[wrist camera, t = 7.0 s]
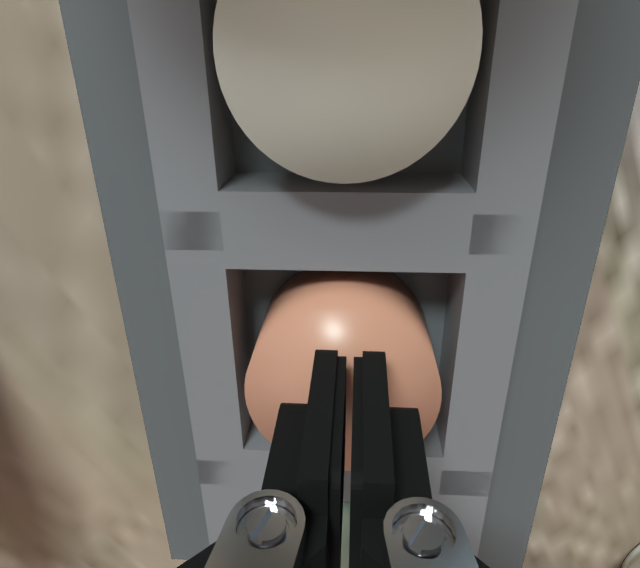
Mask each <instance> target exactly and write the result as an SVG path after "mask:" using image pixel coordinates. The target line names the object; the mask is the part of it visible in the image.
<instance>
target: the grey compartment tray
mask: <svg viewBox="0 0 640 568" xmlns="http://www.w3.org/2000/svg"><path fill="white" fill-rule="evenodd" d="M479 1H480V6H481V13H482V28H483V34H482V51H481V57H480V62H479V68H478V72H477V75H476V79H475V82H474V85H473V88H472V91H471V93H470V95H469V98H468V100H467V102H466V105H465V106H464V108H463V110H462V112H461V113H460V115H459V117H458V118H457V120H456V122H455V123H454V124H453V126H452V127H451V128H450V130H449V131H448V132H447V134H446V135H445V136H444V137H443V138H442V139H441V140H440V141H439V142H438V143H437V145H436V146H435V147H434V148H433V149H431V150H430V151H429V152H428V153H427V154H425V155H424V156H423V157H422V158H420V159H419V160H417V161H416V162H414V163H413V164H411V165H410V166H408V167H406V168H405V169H402V170H400V171H398V172H396V173H394V174H392V175H389V176H386V177H383V178H380V179H377V180H373V181H367V182H362V183H350V184H339V183H327V182H322V181H317V180H312V179H310V178H307V177H304V176H301V175H298V174H296V173H294V172H292V171H290V170H288V169H286V168H284V167H282V166H281V165H279V164H277V163H276V162H274V161H273V160H271V159H270V158H269V157H268V156H266V155H265V154H264V153H263V152H262V151H261V150H259V149H258V148H257V147H256V146H255V145H254V143H253V142H252V141H251V140H250V139H249V138H248V137H247V136H246V135H245V133H244V132H243V130H242V129H241V128H240V126H239V125H238V123H237V122H236V120H235V118H234V117H233V115H232V113H231V111H230V109H229V107H228V105H227V103H226V100H225V98H224V96H223V93H222V91H221V87H220V84H219V80H218V76H217V73H216V67H215V60H214V54H213V25H214V14H215V9H216V4H217V0H59V4H60V9H61V14H62V19H63V24H64V29H65V34H66V39H67V44H68V49H69V54H70V59H71V64H72V69H73V73H74V78H75V83H76V88H77V93H78V98H79V103H80V108H81V113H82V118H83V123H84V128H85V133H86V138H87V143H88V148H89V152H90V157H91V162H92V167H93V172H94V177H95V182H96V187H97V192H98V197H99V202H100V207H101V212H102V217H103V222H104V227H105V232H106V236H107V241H108V246H109V251H110V256H111V261H112V266H113V271H114V276H115V281H116V286H117V291H118V296H119V301H120V306H121V311H122V316H123V320H124V325H125V330H126V335H127V340H128V345H129V350H130V355H131V360H132V365H133V370H134V375H135V380H136V385H137V390H138V395H139V399H140V404H141V409H142V414H143V419H144V424H145V429H146V434H147V439H148V444H149V449H150V454H151V459H152V464H153V469H154V474H155V479H156V483H157V488H158V493H159V498H160V503H161V508H162V513H163V518H164V523H165V528H166V533H167V538H168V543H169V548H170V553H171V558H172V559H184V560H189V559H190V558H192V557H193V556H195V555H196V554H198V553H199V552H201V551H202V550H204V549H205V548H207V547H208V546H210V545H211V544H213V543H214V542H216V541H217V539H218V537H219V534H220V532H221V530H222V528H223V526H224V523H225V521H226V519H227V517H228V515H229V513H230V511H231V510H232V508H233V507H234V505H235V504H236V503H237V502H238V501H240V500H241V499H242V498H243V497H245V496H247V495H249V494H251V493H253V492H255V491H260V490H261V488H262V484H263V479H264V475H265V470H266V466H267V461H268V456H269V452H270V447H271V443H270V442H269V441H268V440H267V439H266V438H265V437H264V436H263V435H262V434H261V433H260V431H259V430H258V428H257V427H256V425H255V424H254V422H253V420H252V418H251V416H250V414H249V411H248V408H247V405H246V400H245V387H244V384H245V377H246V372H247V369H248V366H249V363H250V360H251V357H252V354H253V351H254V348H255V345H256V342H257V339H258V336H259V333H260V330H261V327H262V324H263V321H264V318H265V315H266V312H267V309H268V306H269V304H270V302H271V300H272V298H273V297H274V295H275V294H276V293H277V291H278V290H279V289H280V288H281V287H282V286H283V285H284V283H286V282H287V281H288V280H289V279H290V278H292V277H293V276H295V275H296V274H298V273H300V272H301V271H303V270H310V271H368V272H389V273H391V274H392V275H394V276H395V277H397V278H398V279H399V280H401V281H402V282H403V283H404V284H405V285H406V286H407V287H408V288H409V289H410V290H411V291H412V292H413V294H414V295H415V297H416V298H417V300H418V301H419V303H420V305H421V307H422V310H423V312H424V316H425V319H426V323H427V327H428V331H429V335H430V339H431V343H432V348H433V352H434V356H435V360H436V364H437V368H438V372H439V376H440V381H441V388H442V399H441V406H440V411H439V414H438V416H437V419H436V422H435V423H434V425H433V427H432V429H431V430H430V432H429V433H428V434H427V436H426V437H425V438H424V439H423V441H424V447H425V454H426V461H427V467H428V474H429V480H430V487H431V494H432V499H433V500H436V501H439V502H440V503H442V504H444V505H445V506H447V507H449V508H450V509H451V510H452V511H453V512H454V513H455V514H456V515H457V516H458V518H459V520H460V521H461V523H462V525H463V527H464V529H465V532H466V535H467V537H468V540H469V543H470V545H471V548H472V551H473V553H474V555H475V556H476V557H477V558H479V559H480V560H481V561H482V562H484V563H485V564H486V565H487V566H489V567H490V568H522V565H523V561H524V557H525V553H526V549H527V544H528V540H529V536H530V532H531V528H532V524H533V520H534V515H535V511H536V507H537V503H538V499H539V495H540V491H541V486H542V482H543V478H544V474H545V470H546V466H547V462H548V457H549V453H550V449H551V445H552V441H553V437H554V433H555V429H556V424H557V420H558V416H559V412H560V408H561V404H562V400H563V395H564V391H565V387H566V383H567V379H568V375H569V371H570V366H571V362H572V358H573V354H574V350H575V346H576V342H577V337H578V333H579V329H580V325H581V321H582V317H583V313H584V309H585V304H586V300H587V296H588V292H589V288H590V284H591V280H592V275H593V271H594V267H595V263H596V259H597V255H598V251H599V246H600V242H601V238H602V234H603V230H604V226H605V222H606V217H607V213H608V209H609V205H610V201H611V197H612V193H613V188H614V184H615V180H616V176H617V172H618V168H619V164H620V160H621V155H622V151H623V147H624V143H625V139H626V135H627V131H628V126H629V122H630V118H631V114H632V110H633V106H634V102H635V97H636V93H637V89H638V85H639V81H640V0H479ZM350 489H351V471H344V494H343V502H350Z"/></svg>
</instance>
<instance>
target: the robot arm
mask: <svg viewBox="0 0 640 568" xmlns="http://www.w3.org/2000/svg"><path fill="white" fill-rule="evenodd" d="M346 362H347V357H346V356H338V350H318V349H316V350H315V355H314V362H313V369H312V376H311V383H310V389H309V396H308V403H307V404H302V403H281V404H280V407H279V411H278V416H277V420H276V425H275V429H274V434H273V438H272V443H271V447H270V452H269V456H268V461H267V466H266V470H265V475H264V479H263V484H262V488H261V490H260V491H255V492H253V493H251V494H249V495H247V496H245V497H243V498H242V499H241V500H240V501H238V502H237V503H236V504H235V505H234V507H233V508H232V510H231V511H230V513H229V515H228V517H227V519H226V521H225V523H224V526H223V528H222V530H221V532H220V534H219V537H218V539H217V541H216V542H214V543H213V544H211V545H210V546H208V547H207V548H205V549H204V550H202V551H201V552H199V553H198V554H196V555H195V556H193V557H192V558H190V559H189V560H187V561H186V562H184V563H183V564H181V565H180V566H179V567H177V568H341V544H342V519H343V494H344V468H345V433H346ZM349 568H490V567H489V566H487V565H486V564H485V563H484V562H482V561H481V560H480V559H479V558H477V557H476V556H475V555H474V553H473V551H472V548H471V545H470V543H469V540H468V537H467V535H466V532H465V529H464V527H463V525H462V523H461V521H460V520H459V518H458V516H457V515H456V514H455V513H454V512H453V511H452V510H451V509H450V508H449V507H447V506H445V505H444V504H442V503H440V502H439V501H436V500H433V499H432V494H431V487H430V480H429V474H428V467H427V461H426V454H425V447H424V441H423V434H422V428H421V421H420V414H419V410H418V408H404V407H389V394H388V380H387V367H386V354H385V352H381V351H363V355H362V357H354V367H353V407H352V447H351V489H350V536H349Z"/></svg>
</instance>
